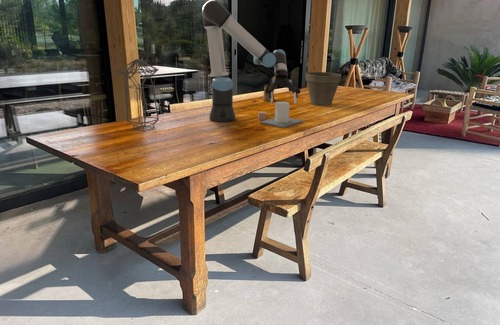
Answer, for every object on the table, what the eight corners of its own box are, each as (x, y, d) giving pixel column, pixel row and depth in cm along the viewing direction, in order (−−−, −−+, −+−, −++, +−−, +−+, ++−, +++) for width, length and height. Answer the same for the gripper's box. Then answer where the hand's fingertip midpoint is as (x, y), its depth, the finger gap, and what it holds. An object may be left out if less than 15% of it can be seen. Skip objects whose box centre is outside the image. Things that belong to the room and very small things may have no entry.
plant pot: (341, 107, 271) (344, 76, 264) (306, 106, 271) (308, 75, 265) (334, 101, 295) (337, 72, 288) (302, 100, 295) (304, 71, 288)
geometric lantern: (143, 133, 192) (136, 60, 181) (121, 130, 200) (113, 59, 189) (165, 127, 205) (160, 58, 194) (144, 124, 213) (137, 57, 202)
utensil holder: (280, 99, 297) (281, 75, 291) (269, 101, 287) (270, 77, 281) (271, 98, 302) (272, 74, 296) (260, 100, 293) (260, 75, 287)
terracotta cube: (265, 120, 229) (266, 113, 227) (259, 120, 228) (259, 113, 227) (264, 118, 233) (265, 111, 231) (258, 118, 232) (258, 111, 231)
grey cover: (288, 122, 219) (289, 103, 216) (276, 122, 218) (277, 103, 215) (286, 119, 225) (287, 101, 222) (274, 119, 225) (275, 101, 221)
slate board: (283, 128, 210) (283, 126, 210) (259, 123, 219) (259, 121, 219) (302, 122, 225) (303, 120, 225) (280, 118, 234) (280, 116, 234)
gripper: (300, 77, 236) (304, 106, 226) (259, 76, 233) (261, 106, 224) (303, 69, 229) (306, 99, 220) (260, 68, 226) (262, 98, 217)
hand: (283, 103), depth 222 cm, fingers open, 13 cm apart
